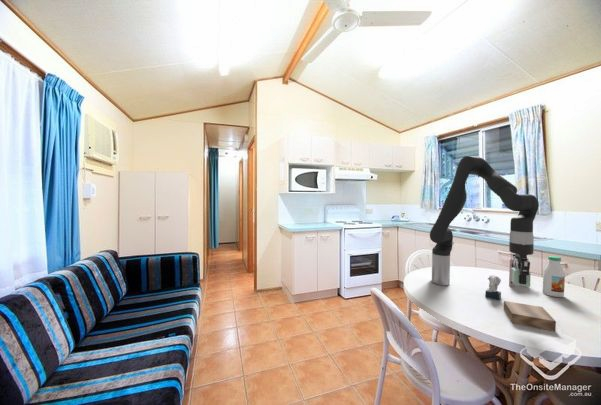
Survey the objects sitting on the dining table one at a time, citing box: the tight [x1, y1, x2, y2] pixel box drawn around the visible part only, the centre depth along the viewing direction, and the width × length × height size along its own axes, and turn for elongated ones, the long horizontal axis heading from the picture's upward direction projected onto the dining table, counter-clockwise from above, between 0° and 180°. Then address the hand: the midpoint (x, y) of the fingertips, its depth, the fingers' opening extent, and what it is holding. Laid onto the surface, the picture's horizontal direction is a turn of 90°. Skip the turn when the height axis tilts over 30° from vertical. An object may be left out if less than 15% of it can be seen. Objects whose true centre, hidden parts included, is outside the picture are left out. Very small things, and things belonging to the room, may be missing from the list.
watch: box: [484, 274, 502, 301], centre depth 123 cm, size 6×8×11 cm
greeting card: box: [508, 256, 517, 287], centre depth 141 cm, size 11×7×15 cm, turn 99°
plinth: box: [503, 300, 557, 332], centre depth 102 cm, size 13×13×4 cm
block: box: [511, 267, 532, 288], centre depth 102 cm, size 5×5×6 cm
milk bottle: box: [542, 255, 566, 298], centre depth 125 cm, size 8×8×20 cm
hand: (520, 281), depth 102 cm, fingers closed on block, 5 cm apart
